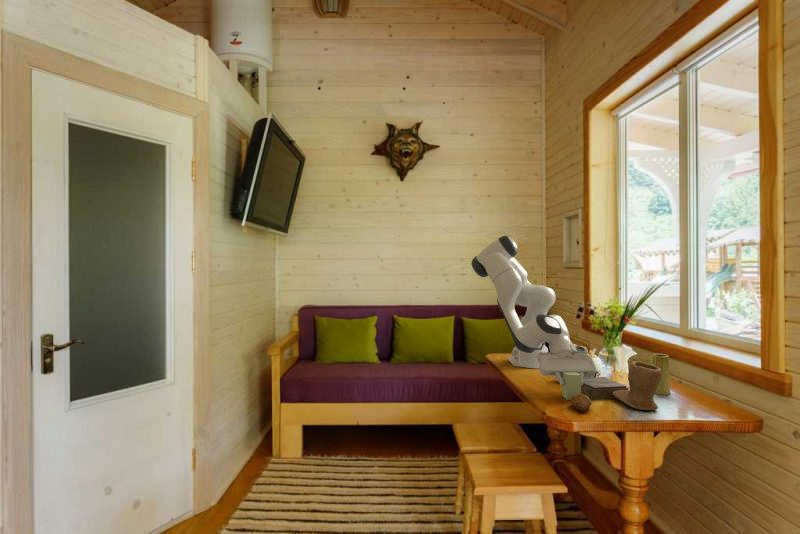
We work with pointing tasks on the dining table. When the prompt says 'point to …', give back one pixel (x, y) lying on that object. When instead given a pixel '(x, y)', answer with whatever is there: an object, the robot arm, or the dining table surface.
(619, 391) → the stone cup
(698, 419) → the dining table surface
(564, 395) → the block
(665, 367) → the vase
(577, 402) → the brown rounded lump
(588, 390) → the plinth
